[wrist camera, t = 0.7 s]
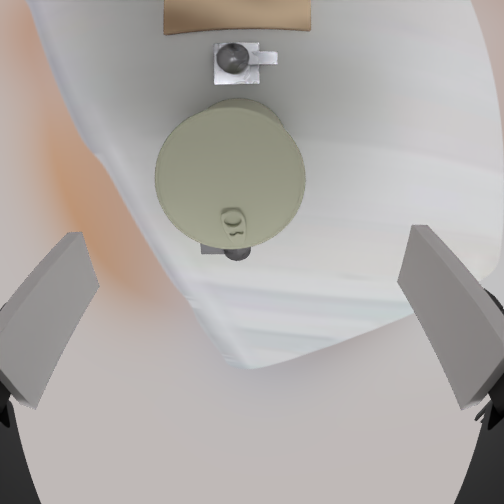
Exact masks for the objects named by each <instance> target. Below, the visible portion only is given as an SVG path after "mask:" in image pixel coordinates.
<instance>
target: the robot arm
mask: <svg viewBox="0 0 504 504" xmlns="http://www.w3.org/2000/svg"><path fill="white" fill-rule="evenodd" d="M397 282H398V284H399V286H400V287H401V289H402V291H403V293H404V294H405V296H406V298H407V300H408V301H409V303H410V305H411V307H412V309H413V310H414V312H415V314H416V316H417V318H418V320H419V321H420V323H421V325H422V327H423V329H424V331H425V333H426V335H427V337H428V339H429V341H430V343H431V345H432V347H433V349H434V351H435V353H436V355H437V357H438V359H439V361H440V363H441V365H442V367H443V369H444V372H445V374H446V376H447V378H448V380H449V383H450V385H451V387H452V390H453V391H454V394H455V397H456V399H457V401H458V403H459V406H460V409H461V410H464V409H467V408H469V407H472V406H475V405H478V404H479V403H480V402H481V401H482V399H483V398H484V397H485V396H486V395H487V394H489V396H490V398H491V400H490V401H489V402H488V403H487V405H486V406H485V407H484V408H483V409H482V410H481V411H480V412H479V413H478V414H477V416H476V418H475V420H476V421H477V420H478V419H479V418H480V417H481V416H482V415H483V414H484V413H485V414H484V418H483V419H482V420H481V423H482V427H481V430H480V434H479V437H478V440H477V444H476V447H475V450H474V454H473V456H472V459H471V462H470V465H469V468H468V471H467V474H466V476H465V479H464V482H463V484H462V486H461V489H460V491H459V494H458V496H457V498H456V500H455V503H454V504H504V309H503V306H502V305H501V304H500V302H499V301H498V300H497V299H496V297H495V296H493V295H492V294H491V293H490V292H488V291H487V290H485V289H483V287H482V286H481V285H480V284H479V282H478V281H477V280H476V279H475V277H474V276H473V275H472V274H471V273H470V271H469V270H468V269H467V268H466V267H465V266H464V264H463V263H462V262H461V261H460V260H459V259H458V258H457V256H456V255H455V254H454V253H453V252H452V251H451V250H450V249H449V248H448V246H447V245H446V244H445V243H444V242H443V241H442V240H441V239H440V238H439V237H438V236H437V235H436V234H435V233H434V232H433V231H432V230H431V228H430V227H429V226H428V225H412V226H411V231H410V235H409V239H408V243H407V247H406V251H405V255H404V259H403V263H402V267H401V270H400V274H399V277H398V281H397ZM98 288H99V283H98V280H97V277H96V274H95V272H94V269H93V266H92V263H91V260H90V257H89V253H88V250H87V247H86V244H85V240H84V237H83V234H82V232H71V233H67V234H66V235H65V236H64V237H63V238H62V239H61V240H60V241H59V242H58V243H57V244H56V246H55V247H54V248H53V249H52V250H51V251H50V252H49V253H48V254H47V255H46V256H45V258H44V259H43V260H42V261H41V262H40V263H39V264H38V265H37V267H36V268H35V269H34V270H33V271H32V272H31V273H30V275H29V276H28V277H27V278H26V279H25V281H24V282H23V283H22V284H21V285H20V287H19V288H18V289H17V291H16V292H15V293H14V294H13V295H12V297H11V298H10V299H9V300H8V302H7V303H5V304H4V306H3V307H2V308H1V310H0V504H41V502H40V500H39V497H38V494H37V492H36V489H35V486H34V484H33V481H32V478H31V475H30V472H29V469H28V465H27V462H26V459H25V455H24V452H23V448H22V444H21V440H20V436H19V432H18V428H17V423H16V418H15V413H14V408H13V405H12V403H11V402H10V401H9V400H8V399H9V397H10V395H11V394H12V395H13V397H15V399H16V400H17V401H18V402H19V403H20V404H21V405H24V406H27V407H29V408H32V409H36V408H37V405H38V403H39V401H40V399H41V396H42V394H43V392H44V390H45V388H46V385H47V383H48V381H49V379H50V377H51V375H52V372H53V371H54V368H55V366H56V364H57V362H58V360H59V358H60V356H61V354H62V353H63V351H64V349H65V347H66V344H67V343H68V341H69V339H70V337H71V335H72V334H73V332H74V330H75V328H76V326H77V324H78V323H79V321H80V319H81V317H82V316H83V314H84V312H85V310H86V309H87V307H88V305H89V303H90V302H91V300H92V298H93V297H94V295H95V293H96V292H97V290H98Z"/></svg>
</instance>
